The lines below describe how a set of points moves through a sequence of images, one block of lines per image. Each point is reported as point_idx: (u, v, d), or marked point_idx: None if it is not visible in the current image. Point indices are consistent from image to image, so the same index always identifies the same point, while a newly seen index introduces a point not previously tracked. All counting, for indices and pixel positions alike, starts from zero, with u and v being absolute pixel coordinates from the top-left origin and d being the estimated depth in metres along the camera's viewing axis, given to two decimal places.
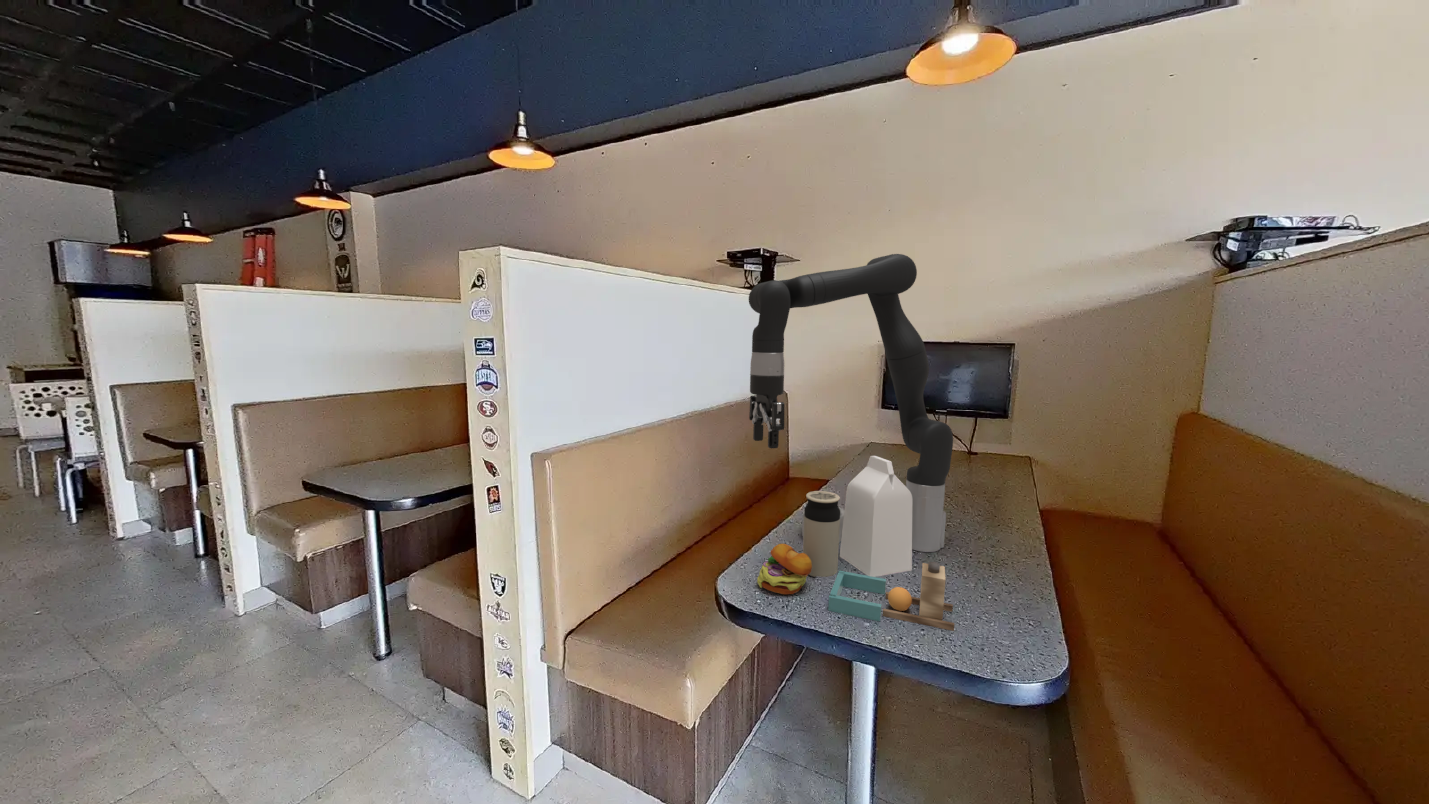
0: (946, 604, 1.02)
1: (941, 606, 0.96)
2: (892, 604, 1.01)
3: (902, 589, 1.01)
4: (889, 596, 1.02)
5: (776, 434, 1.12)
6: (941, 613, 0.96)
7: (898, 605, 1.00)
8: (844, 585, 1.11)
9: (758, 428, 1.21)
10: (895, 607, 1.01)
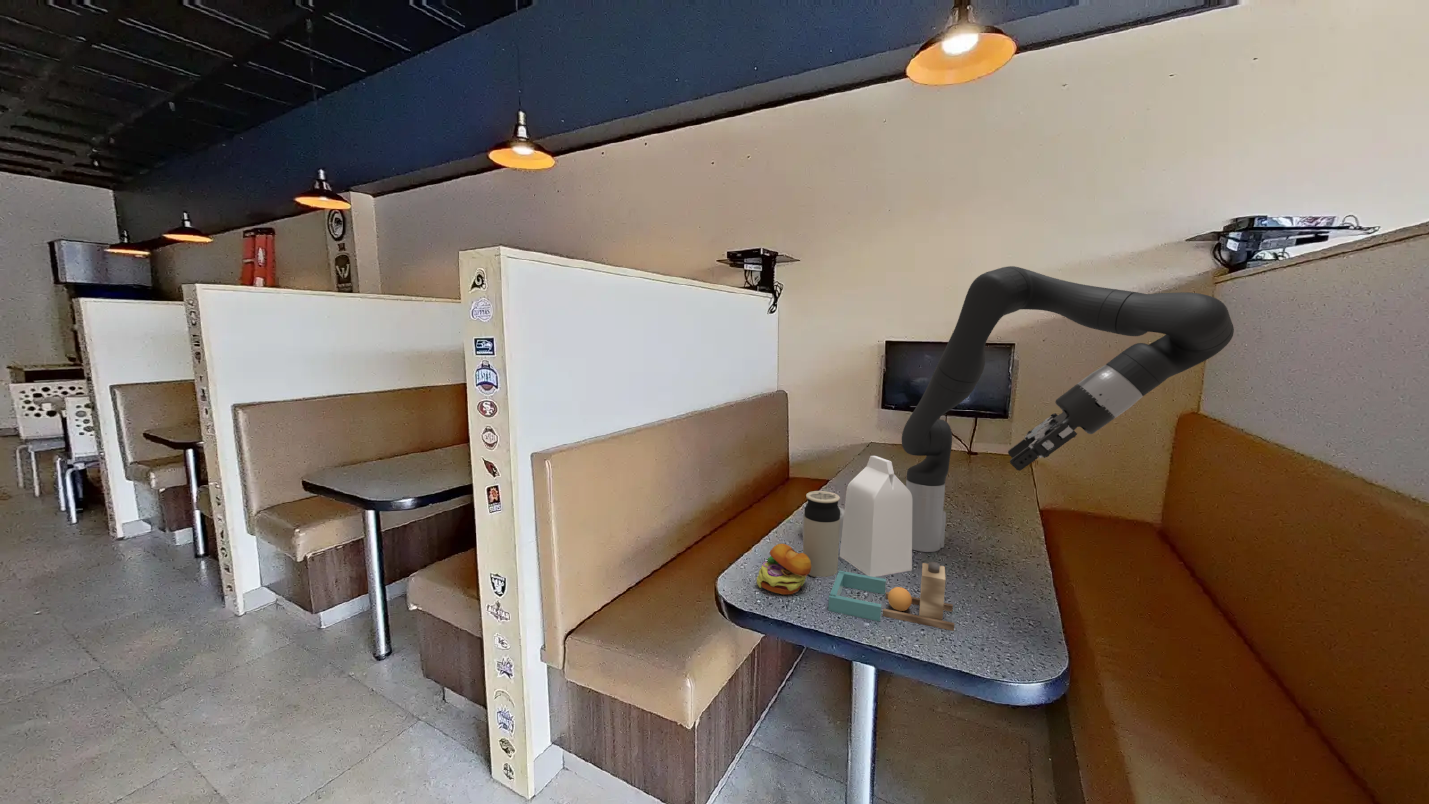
0: (946, 604, 1.02)
1: (941, 606, 0.96)
2: (892, 604, 1.01)
3: (902, 589, 1.01)
4: (889, 596, 1.02)
5: None
6: (941, 613, 0.96)
7: (898, 605, 1.00)
8: (844, 585, 1.11)
9: None
10: (895, 607, 1.01)
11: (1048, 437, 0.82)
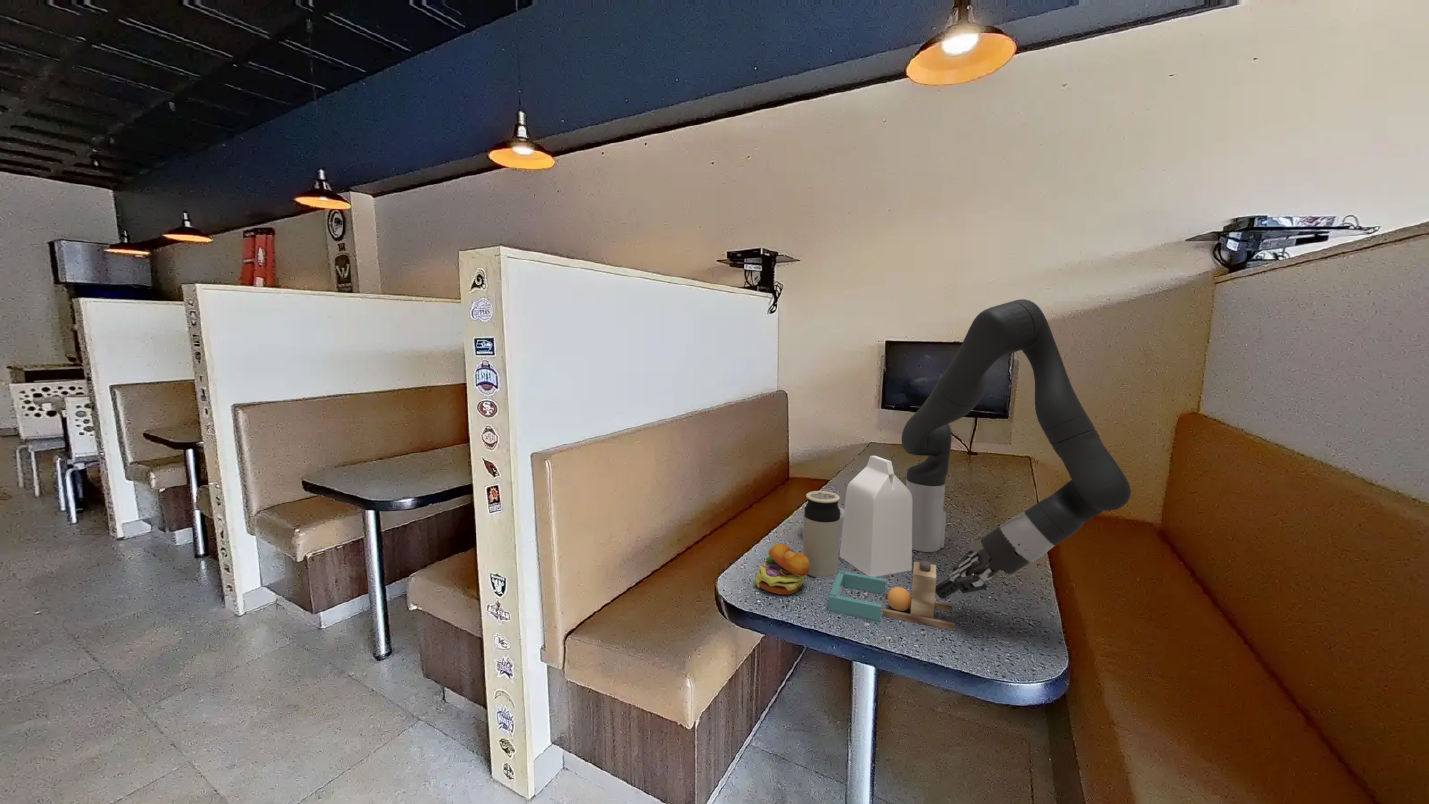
0: (946, 604, 1.02)
1: (932, 604, 0.97)
2: (891, 604, 1.01)
3: (902, 589, 1.01)
4: (889, 596, 1.02)
5: None
6: (932, 611, 0.97)
7: (897, 605, 1.00)
8: (844, 585, 1.11)
9: None
10: (895, 607, 1.01)
11: (962, 582, 0.93)
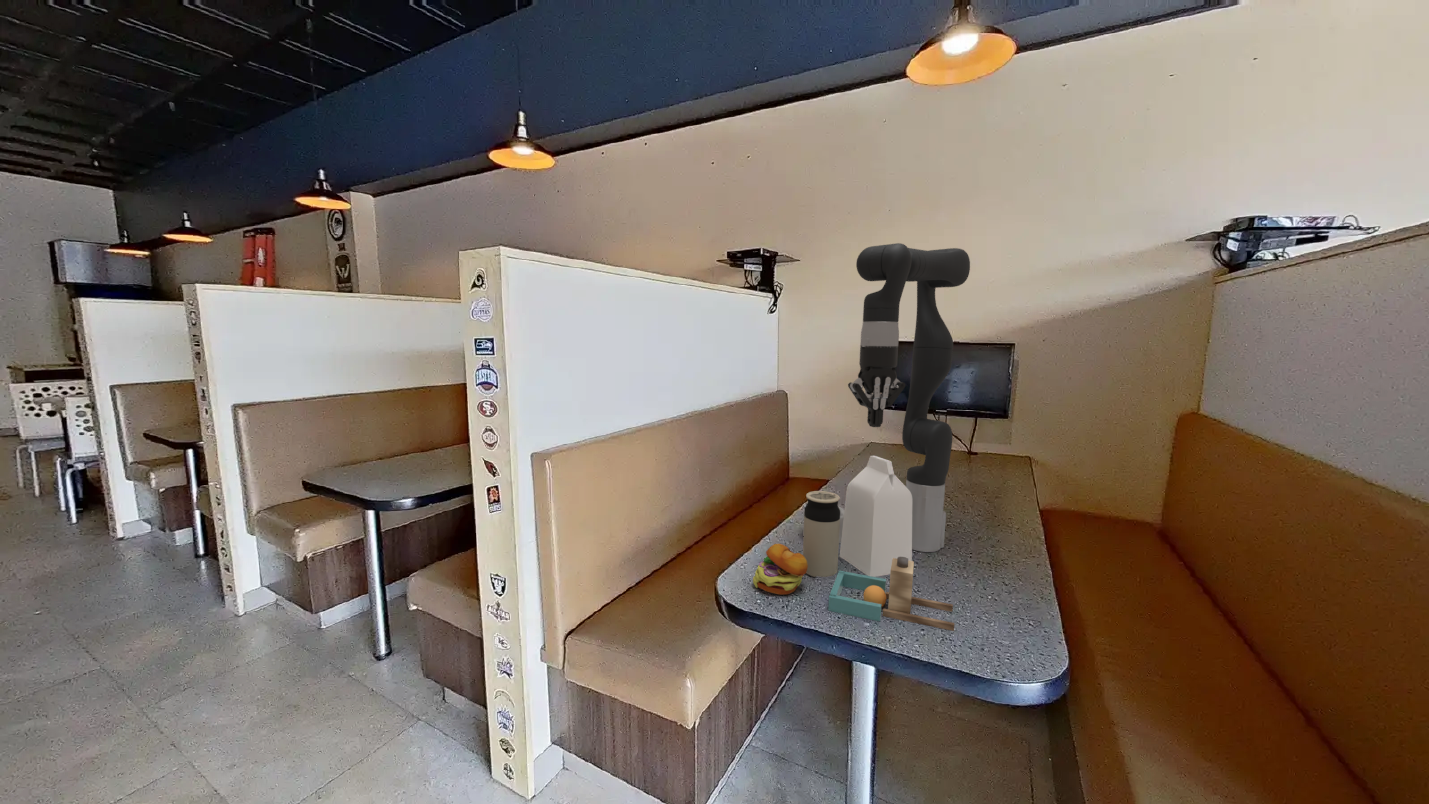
0: (946, 604, 1.02)
1: (909, 600, 0.98)
2: None
3: None
4: None
5: None
6: (909, 607, 0.98)
7: (875, 602, 1.02)
8: (844, 585, 1.11)
9: None
10: (880, 601, 1.02)
11: (855, 397, 1.08)
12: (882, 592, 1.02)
